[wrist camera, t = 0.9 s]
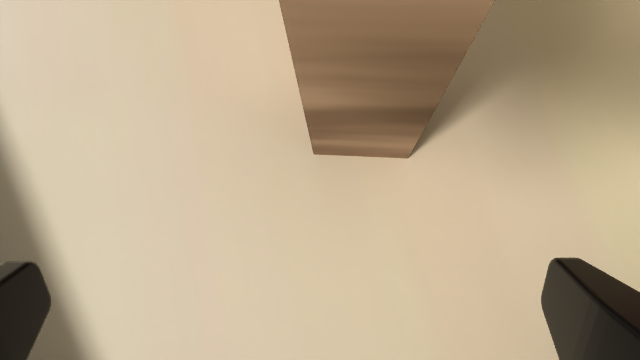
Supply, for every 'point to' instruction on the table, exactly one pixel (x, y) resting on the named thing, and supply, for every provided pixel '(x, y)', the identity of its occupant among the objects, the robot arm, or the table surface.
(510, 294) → the table surface
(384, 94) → the brown tall block
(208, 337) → the table surface
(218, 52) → the table surface
